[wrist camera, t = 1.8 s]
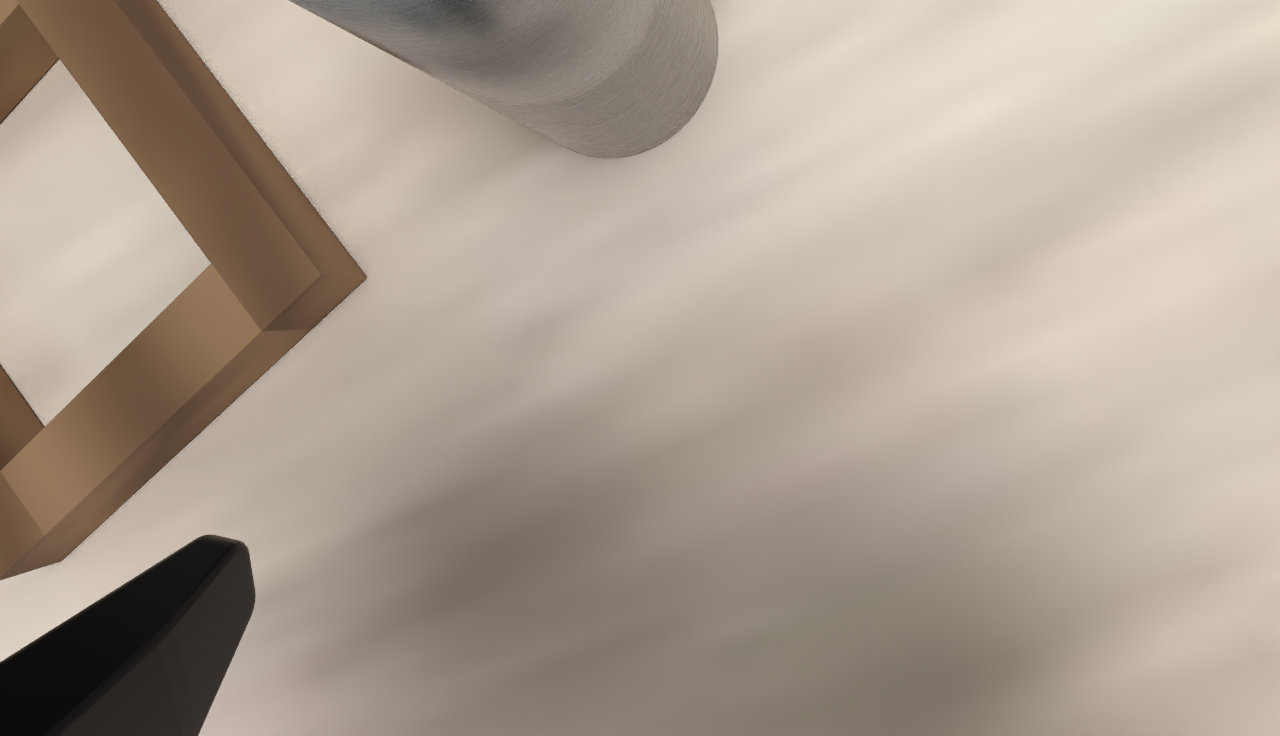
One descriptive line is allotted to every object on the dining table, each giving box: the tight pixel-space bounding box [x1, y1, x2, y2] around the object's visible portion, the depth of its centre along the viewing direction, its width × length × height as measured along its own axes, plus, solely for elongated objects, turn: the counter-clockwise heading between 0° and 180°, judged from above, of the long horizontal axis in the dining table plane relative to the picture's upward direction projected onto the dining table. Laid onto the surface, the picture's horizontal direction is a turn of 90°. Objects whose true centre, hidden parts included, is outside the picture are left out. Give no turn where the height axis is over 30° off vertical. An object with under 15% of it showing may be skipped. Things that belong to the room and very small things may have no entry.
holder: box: [0, 0, 367, 580], centre depth 24 cm, size 12×12×2 cm
